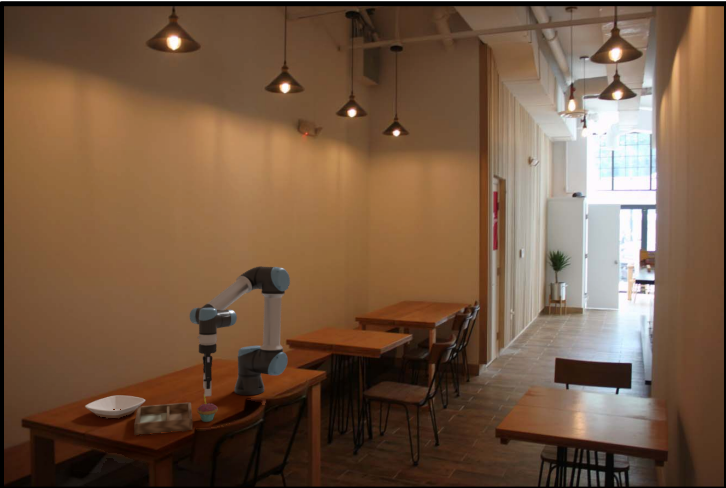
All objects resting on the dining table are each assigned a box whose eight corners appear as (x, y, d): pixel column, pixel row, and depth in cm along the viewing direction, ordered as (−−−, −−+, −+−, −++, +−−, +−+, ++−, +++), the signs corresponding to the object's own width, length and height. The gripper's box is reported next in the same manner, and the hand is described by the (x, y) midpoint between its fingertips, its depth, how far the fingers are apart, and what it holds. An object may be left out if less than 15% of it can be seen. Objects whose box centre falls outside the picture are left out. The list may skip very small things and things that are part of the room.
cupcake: (193, 421, 253) (193, 394, 252) (205, 415, 261) (205, 389, 260) (209, 424, 250) (209, 396, 249) (221, 418, 257) (221, 391, 257)
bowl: (78, 418, 256) (78, 406, 256) (115, 404, 276) (115, 393, 276) (116, 424, 248) (116, 412, 248) (151, 410, 268) (151, 398, 268)
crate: (190, 412, 265) (190, 402, 264) (192, 430, 241) (192, 419, 241) (138, 417, 258) (138, 406, 258) (134, 436, 234) (134, 424, 234)
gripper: (197, 339, 265) (197, 385, 265) (200, 349, 241) (199, 400, 241) (214, 338, 267) (214, 384, 267) (218, 348, 243) (217, 398, 244)
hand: (207, 392), depth 254 cm, fingers open, 13 cm apart
